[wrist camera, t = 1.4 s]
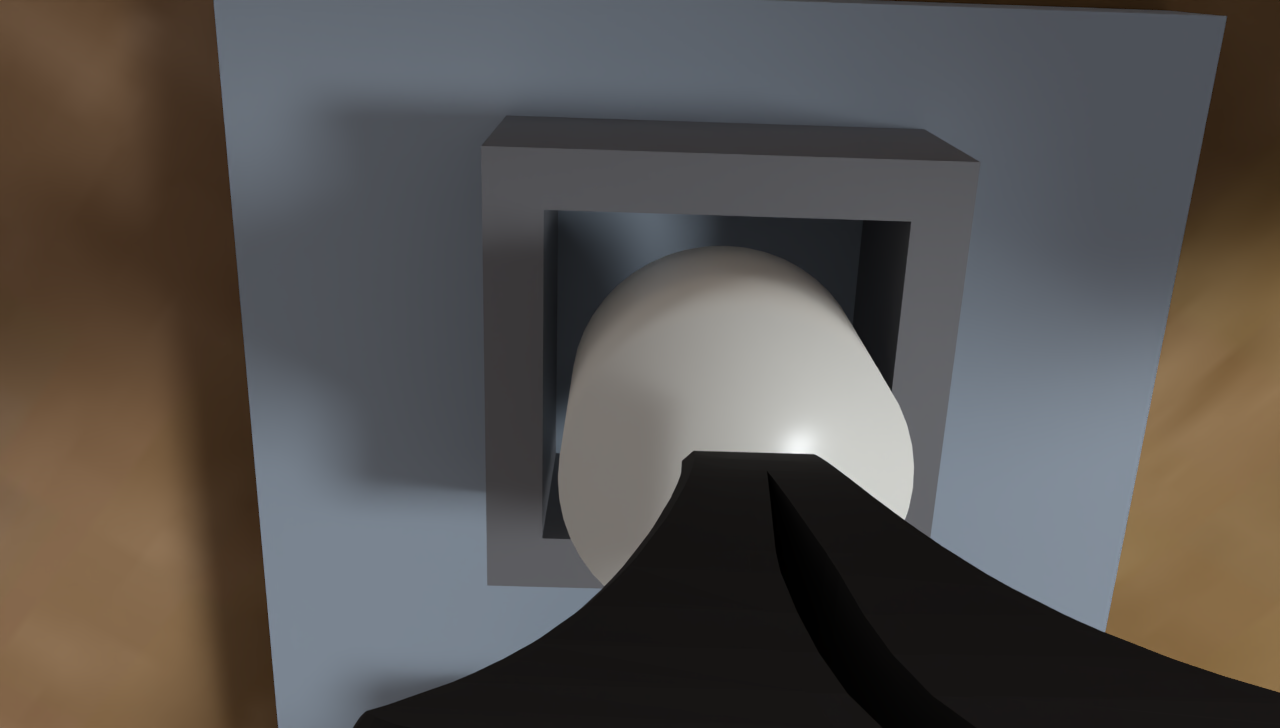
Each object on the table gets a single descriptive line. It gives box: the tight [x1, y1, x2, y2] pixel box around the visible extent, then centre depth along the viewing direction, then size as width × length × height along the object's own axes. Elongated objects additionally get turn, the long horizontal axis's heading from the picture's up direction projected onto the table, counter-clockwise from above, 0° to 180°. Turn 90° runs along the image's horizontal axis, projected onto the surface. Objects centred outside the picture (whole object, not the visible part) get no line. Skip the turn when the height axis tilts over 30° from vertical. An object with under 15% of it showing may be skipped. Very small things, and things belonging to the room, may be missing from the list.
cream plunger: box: [558, 246, 914, 586], centre depth 14 cm, size 4×4×3 cm
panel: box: [213, 0, 1227, 728], centre depth 20 cm, size 15×20×5 cm
